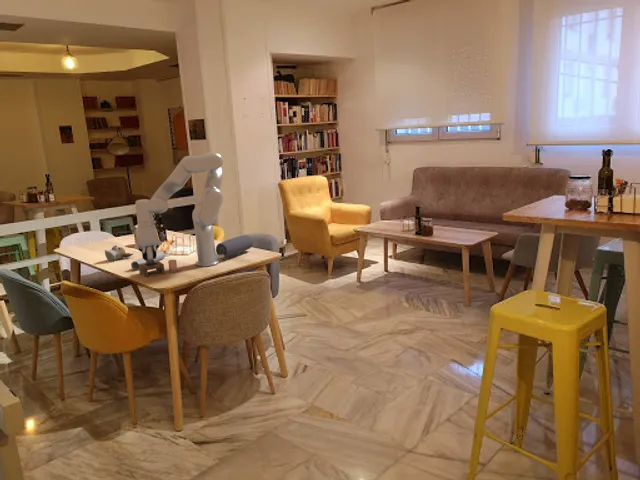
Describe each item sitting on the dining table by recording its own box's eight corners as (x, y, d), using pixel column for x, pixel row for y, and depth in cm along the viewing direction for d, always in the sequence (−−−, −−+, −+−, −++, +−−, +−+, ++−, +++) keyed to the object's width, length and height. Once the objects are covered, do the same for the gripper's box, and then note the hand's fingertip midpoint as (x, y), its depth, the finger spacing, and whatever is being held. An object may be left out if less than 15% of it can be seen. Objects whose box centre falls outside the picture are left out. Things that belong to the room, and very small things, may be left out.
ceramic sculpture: (99, 246, 291) (122, 242, 302) (100, 261, 292) (123, 256, 304) (110, 248, 284) (133, 244, 296) (111, 263, 286) (134, 258, 298)
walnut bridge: (158, 269, 269) (157, 260, 268) (164, 273, 261) (163, 264, 260) (139, 273, 264) (138, 264, 262) (145, 277, 255) (144, 268, 254)
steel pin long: (153, 267, 264) (151, 244, 261) (156, 268, 261) (153, 246, 258) (146, 268, 262) (143, 246, 259) (148, 270, 259) (145, 247, 256)
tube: (157, 251, 293) (129, 262, 270) (164, 248, 291) (137, 260, 268) (161, 259, 294) (133, 272, 271) (168, 257, 292) (141, 269, 269)
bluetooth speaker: (241, 249, 302) (240, 233, 300) (254, 251, 297) (253, 234, 295) (215, 259, 283) (214, 241, 281) (228, 260, 278) (227, 243, 276)
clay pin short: (176, 270, 266) (174, 259, 265) (178, 271, 263) (177, 260, 261) (168, 271, 264) (167, 260, 262) (170, 273, 261) (169, 262, 259)
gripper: (159, 220, 264) (163, 254, 268) (126, 225, 255) (131, 260, 259) (164, 222, 258) (168, 257, 262) (130, 227, 249) (135, 263, 253)
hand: (149, 258), depth 260 cm, fingers closed on steel pin long, 4 cm apart
